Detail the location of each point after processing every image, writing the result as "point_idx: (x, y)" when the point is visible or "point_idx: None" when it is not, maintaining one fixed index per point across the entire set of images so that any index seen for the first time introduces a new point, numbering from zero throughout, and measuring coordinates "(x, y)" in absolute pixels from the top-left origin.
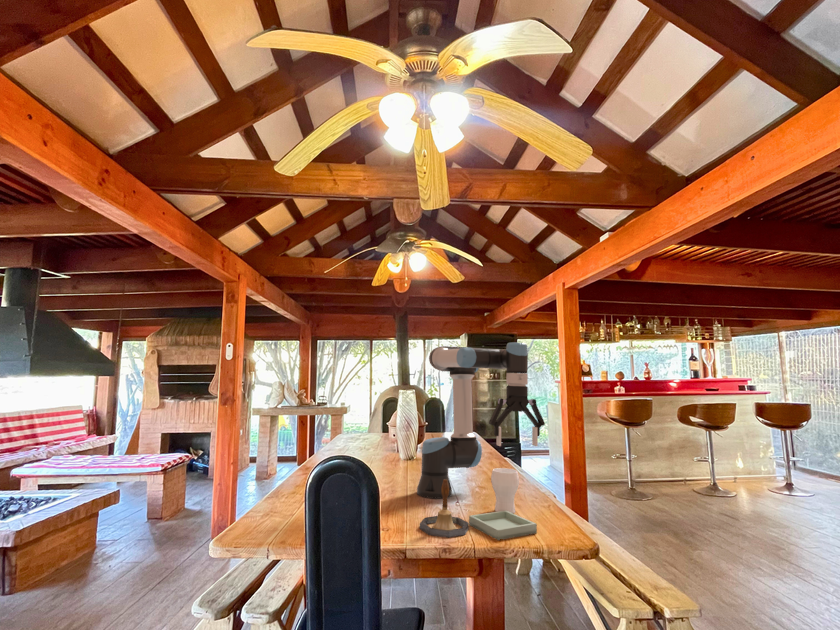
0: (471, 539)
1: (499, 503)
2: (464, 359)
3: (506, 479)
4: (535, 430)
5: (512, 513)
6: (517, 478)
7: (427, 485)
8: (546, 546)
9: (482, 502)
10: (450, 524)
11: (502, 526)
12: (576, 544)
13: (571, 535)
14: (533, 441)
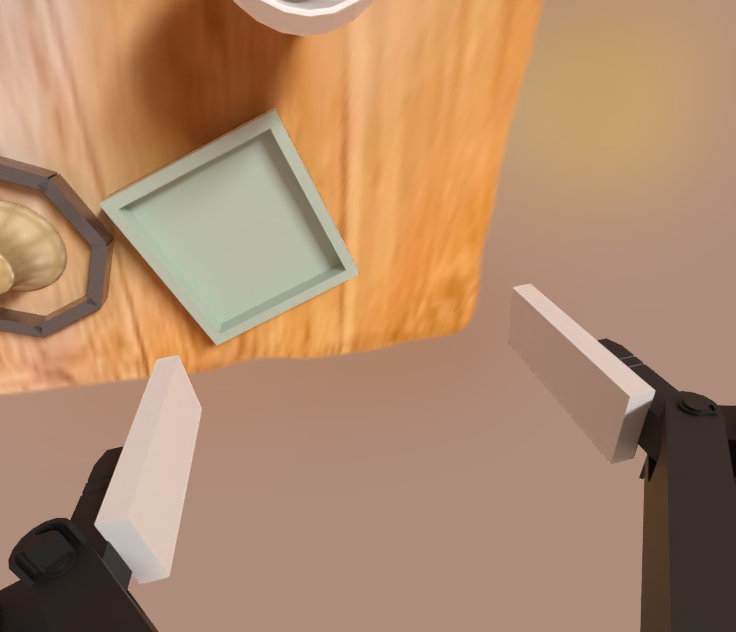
0: (134, 331)
1: None
2: None
3: (293, 30)
4: (589, 437)
5: (297, 158)
6: None
7: None
8: (350, 352)
9: None
10: (33, 278)
11: (243, 241)
12: (433, 330)
13: (453, 268)
14: (527, 326)
